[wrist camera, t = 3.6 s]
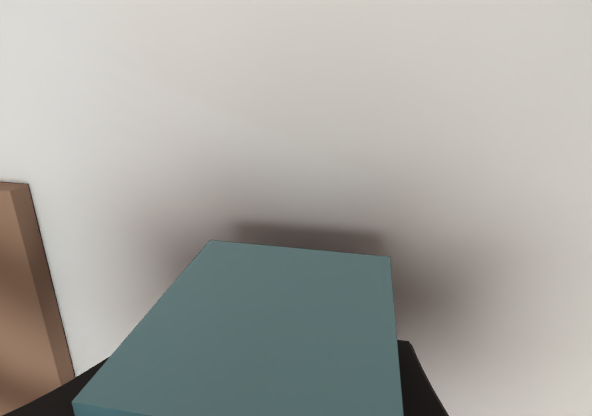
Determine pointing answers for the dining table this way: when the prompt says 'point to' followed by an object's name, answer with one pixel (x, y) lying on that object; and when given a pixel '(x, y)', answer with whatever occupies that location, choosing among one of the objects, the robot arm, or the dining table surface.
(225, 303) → the teal foam cube
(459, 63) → the dining table surface
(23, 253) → the base board
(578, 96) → the dining table surface
